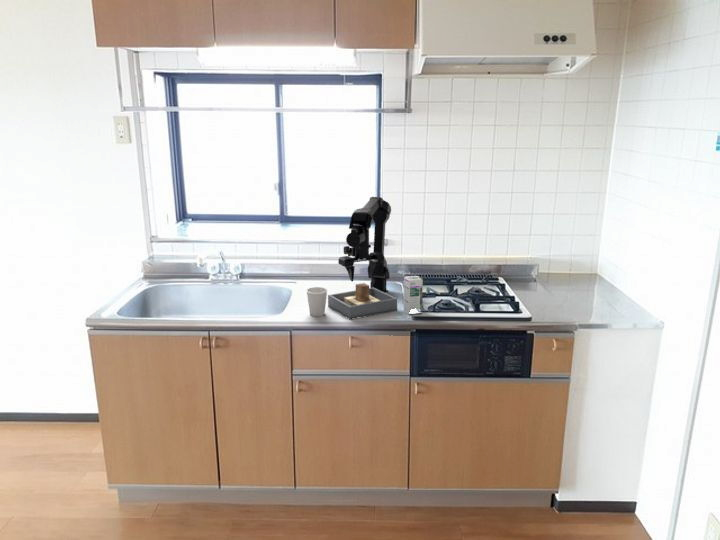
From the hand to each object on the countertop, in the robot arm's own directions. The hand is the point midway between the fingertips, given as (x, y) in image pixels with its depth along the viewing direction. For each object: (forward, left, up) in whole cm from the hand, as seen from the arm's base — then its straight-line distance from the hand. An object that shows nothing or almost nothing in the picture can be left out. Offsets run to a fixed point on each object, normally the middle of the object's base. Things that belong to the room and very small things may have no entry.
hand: (361, 279), depth 218 cm
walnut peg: (+1, +2, -11) cm, 11 cm away
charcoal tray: (+1, +2, -12) cm, 12 cm away
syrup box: (-14, +16, -12) cm, 24 cm away
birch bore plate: (+1, +2, -12) cm, 12 cm away
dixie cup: (+20, -1, -12) cm, 23 cm away
